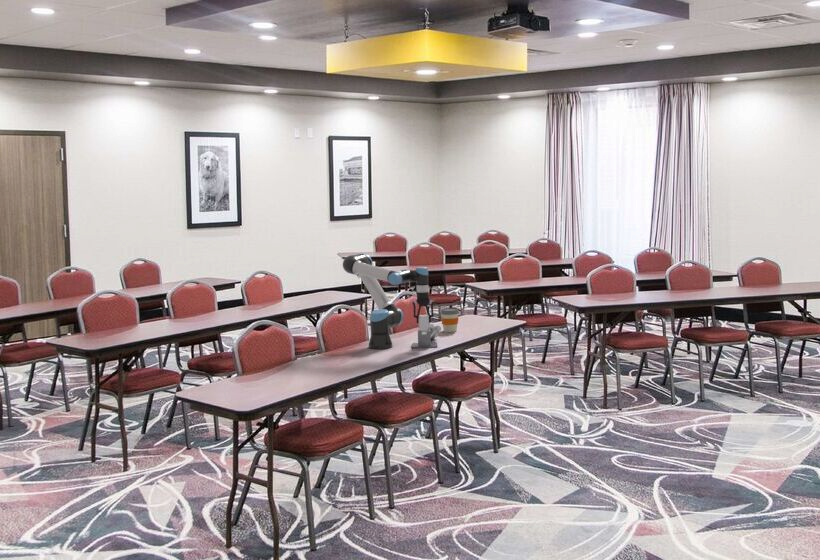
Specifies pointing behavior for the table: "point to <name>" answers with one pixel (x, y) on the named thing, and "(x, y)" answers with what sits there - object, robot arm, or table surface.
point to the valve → (434, 330)
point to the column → (423, 323)
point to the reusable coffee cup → (449, 319)
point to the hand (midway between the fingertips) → (423, 328)
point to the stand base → (424, 340)
